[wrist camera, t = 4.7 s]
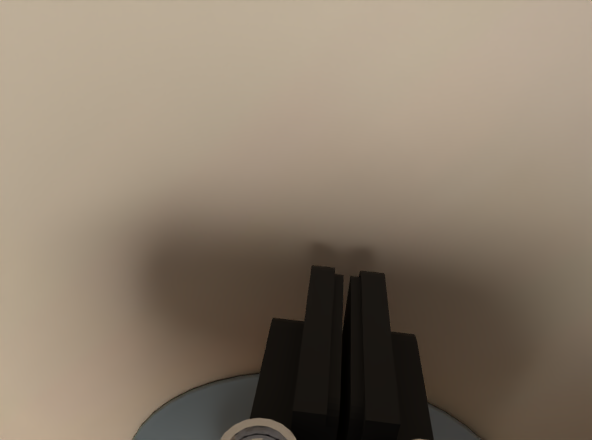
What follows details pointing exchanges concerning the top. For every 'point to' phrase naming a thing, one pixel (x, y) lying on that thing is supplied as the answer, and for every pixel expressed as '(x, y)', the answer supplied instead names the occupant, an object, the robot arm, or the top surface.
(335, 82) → the top surface
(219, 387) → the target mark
